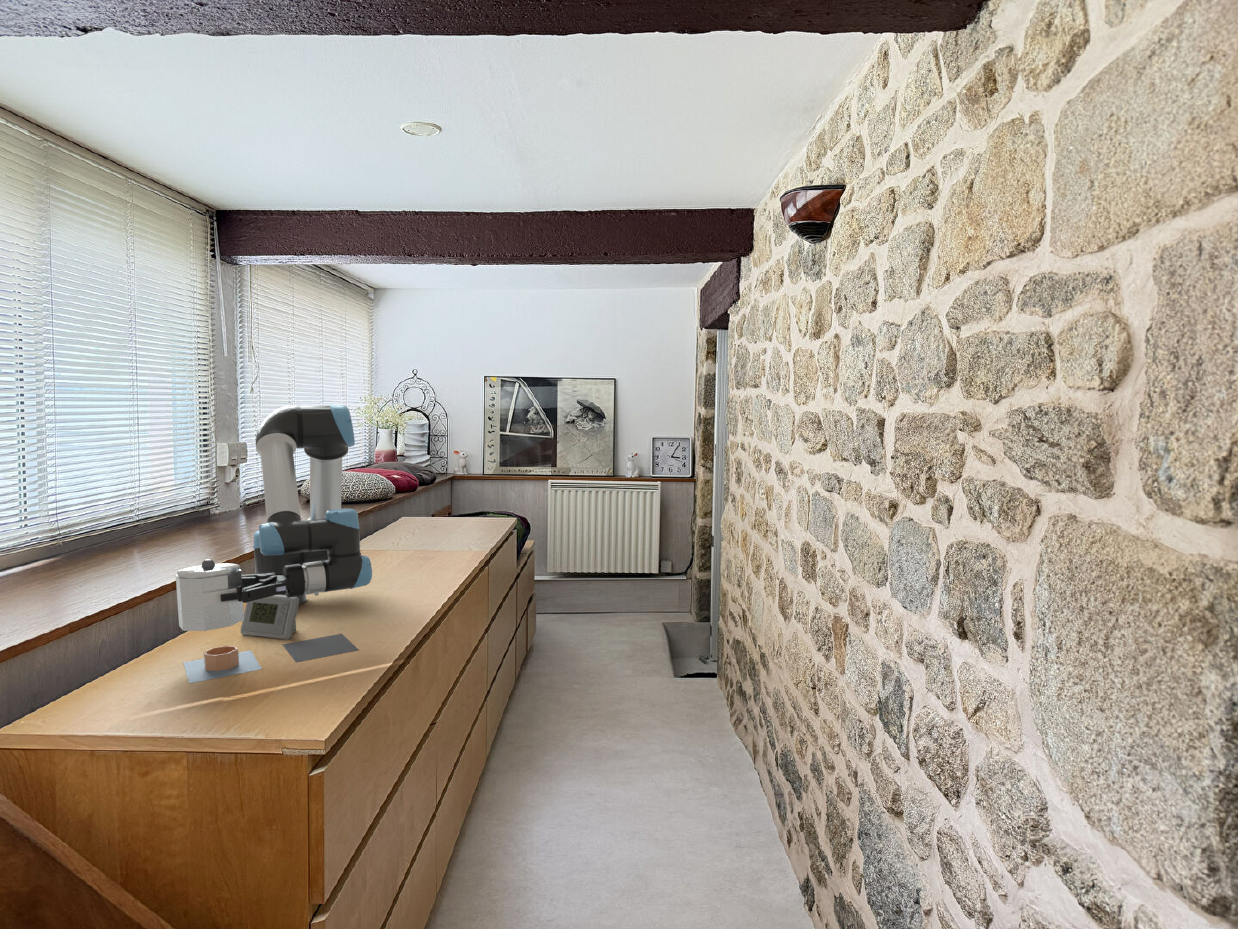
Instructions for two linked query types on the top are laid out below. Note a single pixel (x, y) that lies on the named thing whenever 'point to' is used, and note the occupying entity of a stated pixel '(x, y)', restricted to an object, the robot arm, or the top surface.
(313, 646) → the black mat
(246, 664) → the blue board
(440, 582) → the top surface
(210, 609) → the steel canister
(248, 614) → the digital clock
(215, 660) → the terracotta bowl
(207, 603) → the robot arm
